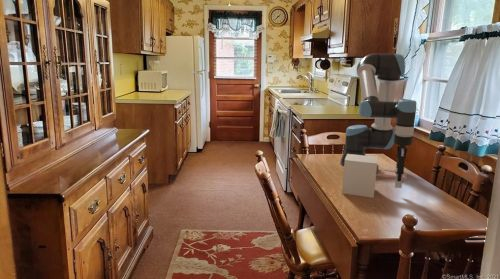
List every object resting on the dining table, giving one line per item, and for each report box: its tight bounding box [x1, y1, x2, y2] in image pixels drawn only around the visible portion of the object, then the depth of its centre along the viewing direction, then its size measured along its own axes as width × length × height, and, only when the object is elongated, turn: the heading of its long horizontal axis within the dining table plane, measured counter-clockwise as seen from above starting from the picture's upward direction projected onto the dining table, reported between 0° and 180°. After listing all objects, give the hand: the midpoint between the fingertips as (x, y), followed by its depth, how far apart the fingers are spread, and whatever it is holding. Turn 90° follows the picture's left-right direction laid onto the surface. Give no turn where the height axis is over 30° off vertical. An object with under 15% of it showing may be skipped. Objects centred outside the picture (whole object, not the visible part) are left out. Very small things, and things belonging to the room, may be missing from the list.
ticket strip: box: [376, 169, 408, 180], centre depth 170 cm, size 6×24×1 cm, turn 70°
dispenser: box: [341, 154, 379, 198], centre depth 172 cm, size 12×15×16 cm
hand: (397, 185), depth 168 cm, fingers closed on ticket strip, 6 cm apart
